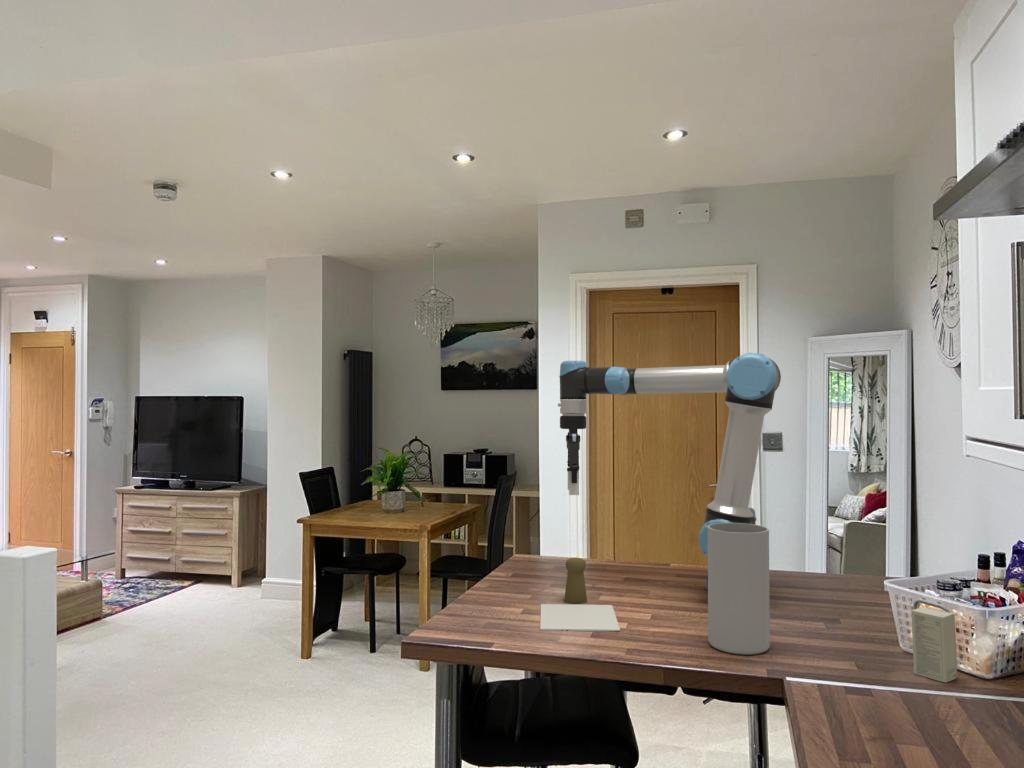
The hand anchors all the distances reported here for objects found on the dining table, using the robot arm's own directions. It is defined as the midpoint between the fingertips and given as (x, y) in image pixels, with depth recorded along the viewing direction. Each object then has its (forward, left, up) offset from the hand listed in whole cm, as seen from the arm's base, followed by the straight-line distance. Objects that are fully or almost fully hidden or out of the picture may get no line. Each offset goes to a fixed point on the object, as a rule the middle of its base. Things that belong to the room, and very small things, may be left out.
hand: (573, 492), depth 207 cm
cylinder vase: (-59, +12, -26) cm, 66 cm away
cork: (-12, +12, -26) cm, 31 cm away
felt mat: (-22, +22, -26) cm, 41 cm away
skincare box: (-93, 0, -26) cm, 96 cm away
